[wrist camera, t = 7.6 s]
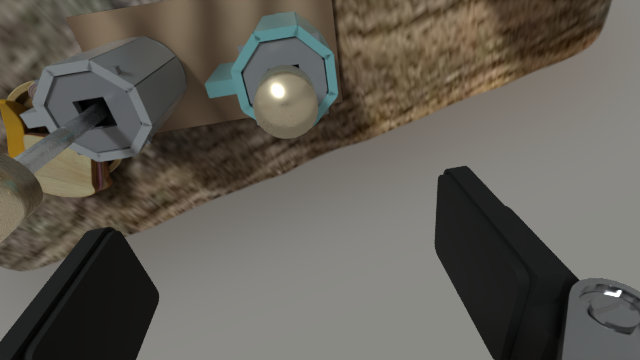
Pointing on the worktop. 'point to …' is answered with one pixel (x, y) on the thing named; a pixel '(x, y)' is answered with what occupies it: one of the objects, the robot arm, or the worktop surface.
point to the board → (200, 43)
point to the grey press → (112, 94)
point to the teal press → (278, 61)
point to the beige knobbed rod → (42, 164)
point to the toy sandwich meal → (63, 170)
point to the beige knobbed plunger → (285, 102)
